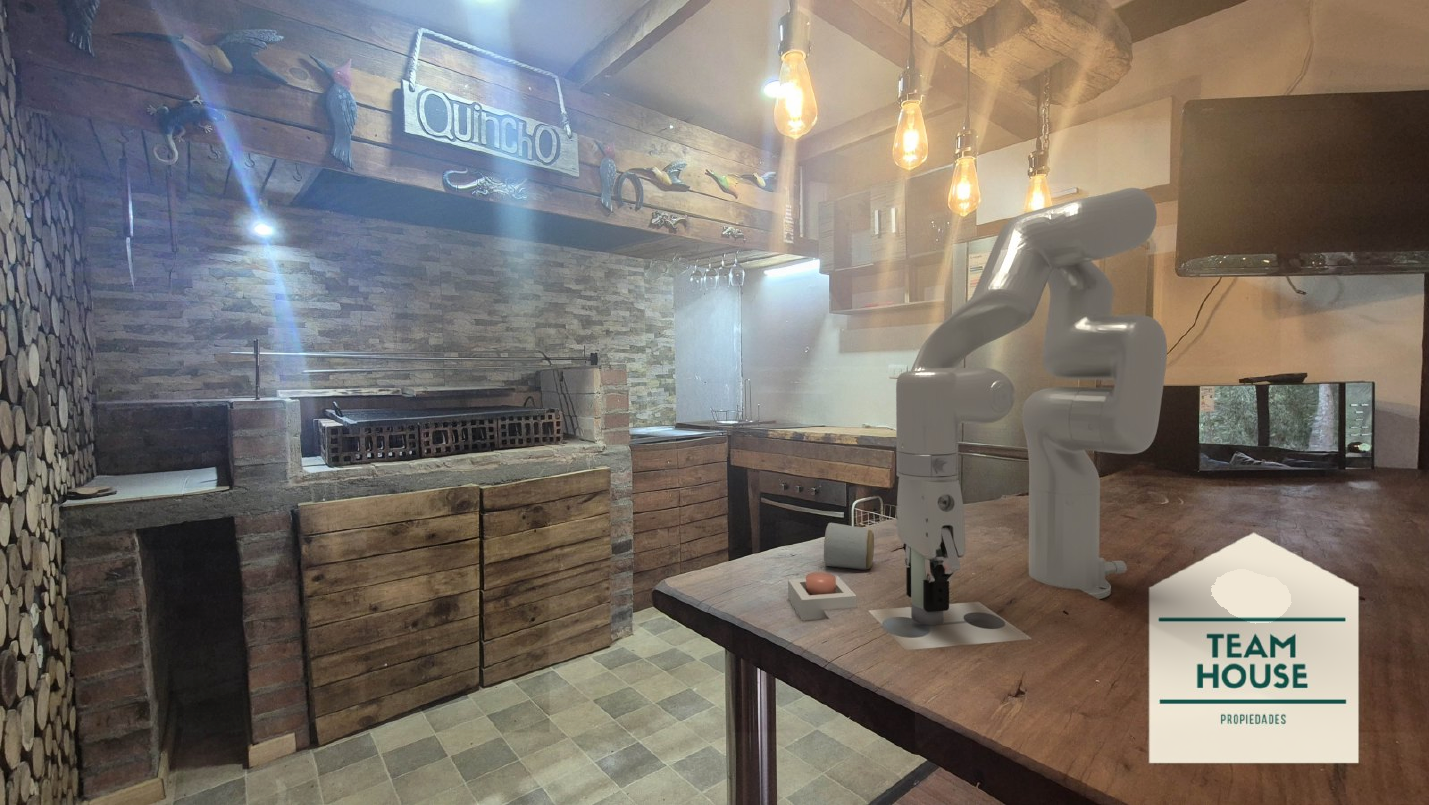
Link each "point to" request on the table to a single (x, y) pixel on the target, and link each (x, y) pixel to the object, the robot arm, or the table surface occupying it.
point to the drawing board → (948, 627)
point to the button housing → (819, 599)
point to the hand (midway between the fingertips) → (927, 601)
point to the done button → (820, 583)
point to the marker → (921, 591)
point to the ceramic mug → (848, 546)
